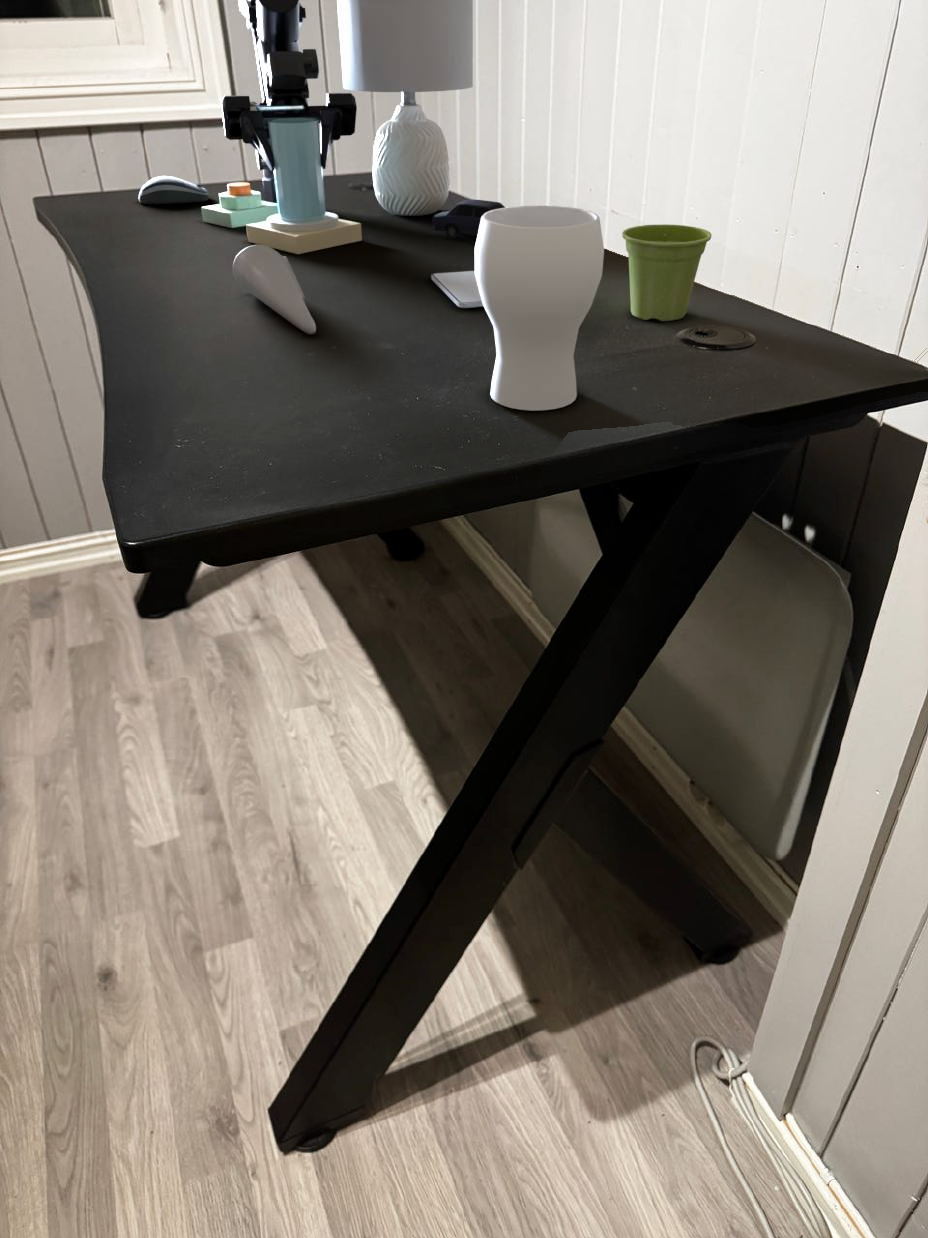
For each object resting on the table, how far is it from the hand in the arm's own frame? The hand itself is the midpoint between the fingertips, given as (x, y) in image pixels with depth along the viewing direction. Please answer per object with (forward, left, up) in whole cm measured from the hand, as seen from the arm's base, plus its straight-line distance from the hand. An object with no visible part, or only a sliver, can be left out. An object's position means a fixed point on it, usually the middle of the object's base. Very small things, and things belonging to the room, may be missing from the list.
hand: (298, 167), depth 128 cm
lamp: (-27, -5, -10) cm, 29 cm away
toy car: (-20, +17, -10) cm, 28 cm away
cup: (+25, +65, -10) cm, 70 cm away
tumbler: (-1, -1, -7) cm, 7 cm away
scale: (-1, -1, -10) cm, 10 cm away
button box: (-4, -21, -10) cm, 24 cm away
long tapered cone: (+25, +27, -10) cm, 38 cm away
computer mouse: (-6, -45, -10) cm, 47 cm away
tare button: (-4, -21, -6) cm, 22 cm away
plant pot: (-4, +59, -10) cm, 60 cm away
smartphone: (+3, +37, -10) cm, 38 cm away
